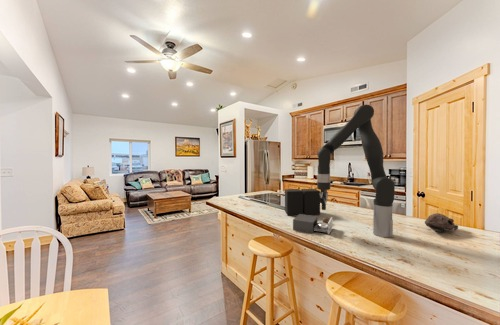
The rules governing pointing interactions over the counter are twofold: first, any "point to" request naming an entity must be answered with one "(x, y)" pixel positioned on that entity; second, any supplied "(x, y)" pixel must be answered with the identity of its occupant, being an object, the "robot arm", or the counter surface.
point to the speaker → (302, 201)
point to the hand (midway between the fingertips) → (323, 209)
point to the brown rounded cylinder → (325, 220)
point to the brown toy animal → (440, 222)
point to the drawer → (326, 229)
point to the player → (305, 223)
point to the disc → (323, 226)
